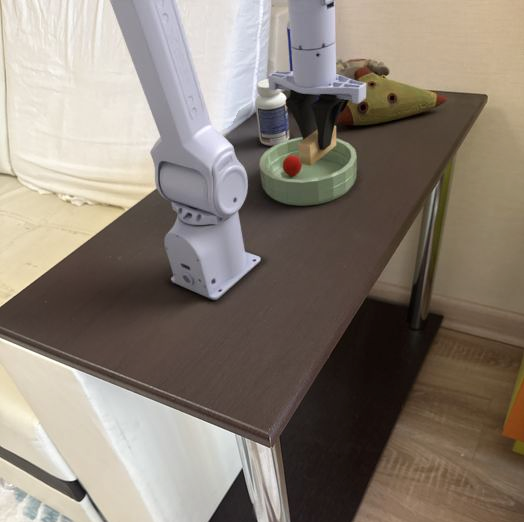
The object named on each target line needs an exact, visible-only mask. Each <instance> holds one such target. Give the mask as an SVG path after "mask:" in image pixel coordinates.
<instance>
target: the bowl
mask: <svg viewBox="0 0 524 522" xmlns="http://www.w3.org/2000/svg"><path fill="white" fill-rule="evenodd" d="M301 141H303V138H302V136H300V137H296V138H291V139H288V140H287V141H284V142H282V143H279V144H277V145H274V146H271V147H270V148H269V149H267V150H266V151H264V153H263V154H262V156H261V157H260V159H259V172H260V173H259V174H260V181H261V187H262V189H263V190H264V191H265V193H266V194H267V195H268V196H269V197H270V198H272V199H273V200H274V201H277V202H279V203H281V204H286V205H289V206H302V207H303V206H314V205H321V204H325V203H329V202H331V201H334V200H336V199H338V198H340V197H342V196H343V195H346V194H347V193H348V192H349V191H350V189H351V188H352V187H353V185H354V184H355V182H356V179H357V178H358V177H357V175H358V174H357V173H358V172H357V167H358V165H357V163H358V162H357V161H358V160H357V159H358V157H357V152H356V149H355V148H354V146H352V144H351V143H349V142H347V141H344V140H343V139H340V138H337V137H336V146H335V147H334V148H333V149H331V150H330V151H329V152H328V153H326V154H325V155H324V156H323V157H321V158H320V159H319V160H318V161H316V162H315V163H314V164H313V165H311V166H309V165H305V164H302V168H301V170H300V172H299V173H298V174H296V175H294V176H290V175H288V174H286V173H285V172H284V170H283V162H284V160H285V158H287V157H288V156H291V155H294V156H297V157H298V158H299V147H298V144H299V143H300V142H301Z"/></svg>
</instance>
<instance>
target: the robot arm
mask: <svg viewBox="0 0 524 522" xmlns="http://www.w3.org/2000/svg"><path fill="white" fill-rule="evenodd" d="M109 3H110V5H111V7H112V10H113V13H114V15H115V18H116V21H117V24H118V27H119V29H120V31H121V34H122V38H123V39H124V43H125V44H126V48H127V51H128V53H129V56H130V58H131V62H132V64H133V67H134V69H135V72H136V74H137V75H136V76H138V77H137V78H138V80H139V82H140V85H141V88H142V91H143V93H144V96H145V99H146V102H147V105H148V107H149V110H150V112H151V115H152V117H153V118H152V119H153V121H154V123H155V126H156V129H157V131H158V134H159V137H158V139H157V140H156V142H155V143H154V144H153V146H152V147H151V149H150V151H149V154H150V156H151V159H152V162H153V165H154V166H153V167H154V182H155V187H156V189H157V192H158V193H159V195H160V196H161V197H162V198H163V199H165V200H167V201H169V202H170V203H171V207H172V210H173V211H174V212H175V213H176V214H177V215H176V219H175V222H174V224H173V226H172V227H171V228H170V230H169V231H168V232H167V233H166V234H165V235H164V239H163V243H164V244H163V246H164V249H165V252H166V255H167V259H168V262H169V265H170V270H171V272H172V276H171V278H170V280H171V283H173V284H176V285H178V286H180V287H182V288H185V289H187V290H190V291H191V292H195V294H196V293H197V294H199V295H201V296H203V297H206V298H208V299H210V300H213V301H216V300H218V299H219V298H221V297H222V296H223V295H224V294H225V293H226V292H228V291H229V290H230V289H231V288H232V287H233V286H234V285H235V284H237V283H238V282H239V281H240V280H241V279H242V278H243V277H244V276H245V275H246V274H248V273H249V272H250V271H252V269H254V267H255V266H257V265H258V264H259V263H260V262H261V261H262V260H261V256H258V255H255V254H252V253H250V252H247V251H246V250H245V249H246V248H245V243H244V238H243V232H242V226H241V222H240V213H239V211H240V209H241V208H242V206H243V205H244V203H245V201H246V198H247V195H248V190H249V189H248V187H249V183H248V180H249V179H248V174H247V171H246V168H245V166H244V165H243V164H242V163H241V162H240V161H239V160H238V158H237V156H236V153H235V148H234V145H233V144H232V143H231V142H230V141H229V140H228V139H227V138H226V137H225V136H224V135H222V133H220V131H218V130H217V129H216V128H215V127H214V126H213V125H212V121H211V119H210V116H209V112H208V108H207V105H206V101H205V97H204V94H203V91H202V87H201V84H200V80H199V77H198V74H197V73H198V72H197V70H196V67H195V62H194V59H193V56H192V52H191V49H190V45H189V42H188V38H187V35H186V31H185V28H184V25H183V21H182V18H181V14H180V10H179V7H178V3H177V0H109ZM287 8H288V20H289V24H290V38H291V52H292V65H293V71H290V70H287V71H283V70H275V71H273V72H271V73H270V74H268V75H267V79H268V82H269V90H277V89H281V91H289V96H288V97H286V100H285V101H286V106H287V110H289V112H290V113H291V115H292V117H293V118H294V120H295V122H296V123H297V126H298V129H299V132H300V135H301V137H302V138H303V140H304V139H305V138H307V137H308V136H309V135H311V134H312V133H313V132H315V131H316V130H317V132H318V144H319V148H320V150H325V149H326V148H327V147H328V146H330V145H331V140H332V134H333V130H334V126H336V123H337V120H338V117H339V115H340V112H341V107H342V105H343V103H344V101H345V100H352V103H356V104H359V103H360V102H362V101H363V100H364V99H365V98H366V83H363V82H358V81H355V80H352V79H349V78H347V77H344V76H341V75H338V74H336V62H337V46H336V45H337V43H336V42H337V41H336V39H337V38H336V35H337V34H336V0H287ZM318 96H319V99H318Z"/></svg>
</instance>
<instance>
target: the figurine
mask: <svg viewBox="0 0 524 522" xmlns="http://www.w3.org/2000/svg"><path fill="white" fill-rule="evenodd" d="M363 67H365V68H368V69H369V70H370V71H372V72H373V73H375V74H376V75H378V76H382V75H384V76H386V77H387V76H389V75H390V71H391V70H390V68H389V67H388V66H387V65H385V62H384V61H379V62H378V60H376V59H375V60H374V59H370V58H368V59H367V58H352V59H348V60H346V61H343V60H342V59H341V58H339V59H338V60H336V74H338V75H341V76H344V77H347V78H349V79H352V80H355V78H354V73H355V71H356V70H357V69H359V68H363ZM348 101H349V100H345V101H344V103H343V105H342V107H341V109H342V110H344V109H345V107H346V105H347V103H348Z"/></svg>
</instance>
